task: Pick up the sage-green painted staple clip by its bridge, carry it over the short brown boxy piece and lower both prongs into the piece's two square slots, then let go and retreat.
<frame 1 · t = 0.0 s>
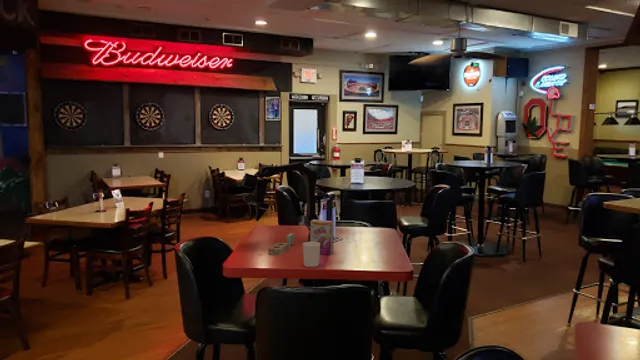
hand: (254, 219, 248), 15 cm above the table, tool pointing down, fingers open, 9 cm apart
clip: (290, 245, 257), on the table
candy bar box: (321, 253, 242), on the table
white cup: (311, 265, 220), on the table
brown boxy piece: (278, 251, 244), on the table
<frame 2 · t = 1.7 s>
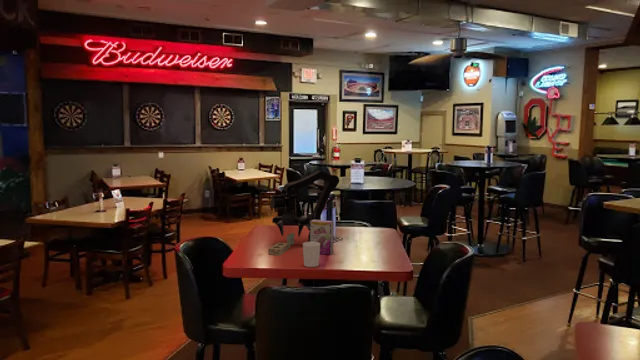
hand: (290, 236, 257), 5 cm above the table, tool pointing down, fingers open, 9 cm apart
nothing on the table moved.
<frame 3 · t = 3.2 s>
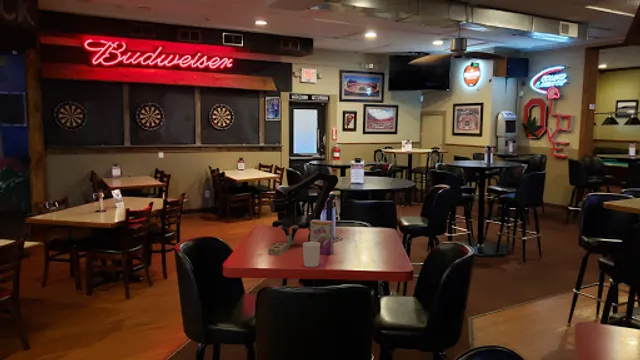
hand: (290, 240, 257), 3 cm above the table, tool pointing down, fingers closed on clip, 2 cm apart
clip: (290, 245, 257), on the table, touching gripper
everything else where it was.
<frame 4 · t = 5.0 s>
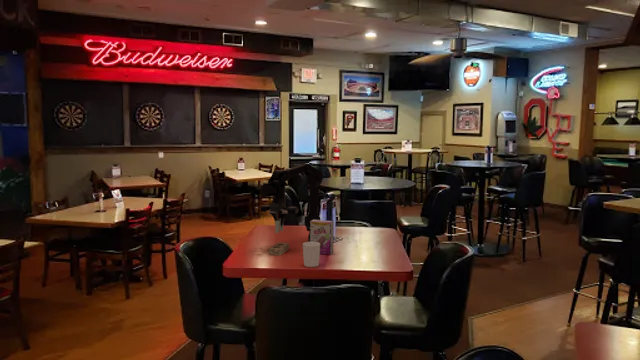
hand: (279, 226, 244), 13 cm above the table, tool pointing down, fingers closed on clip
clip: (279, 231, 244), point 10 cm above the table, touching gripper
everything else where it was.
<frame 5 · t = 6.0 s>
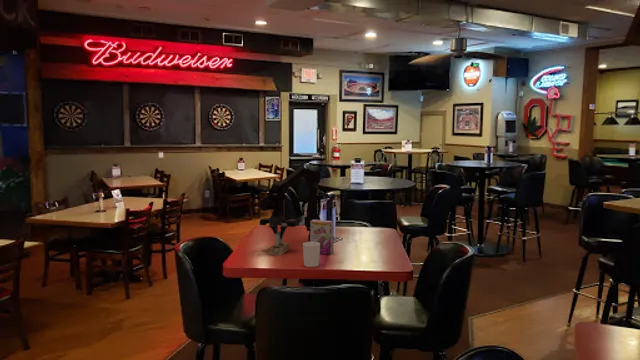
hand: (278, 239, 244), 6 cm above the table, tool pointing down, fingers closed on clip
clip: (278, 244, 244), point 4 cm above the table, touching gripper
everything else where it was.
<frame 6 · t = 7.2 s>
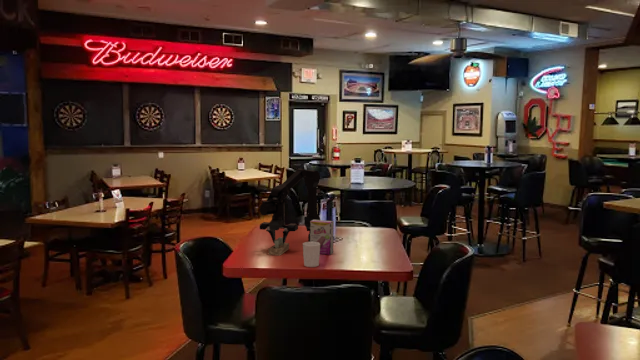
hand: (278, 243, 244), 4 cm above the table, tool pointing down, fingers open, 5 cm apart
clip: (278, 250, 244), resting on brown boxy piece
everything else where it was.
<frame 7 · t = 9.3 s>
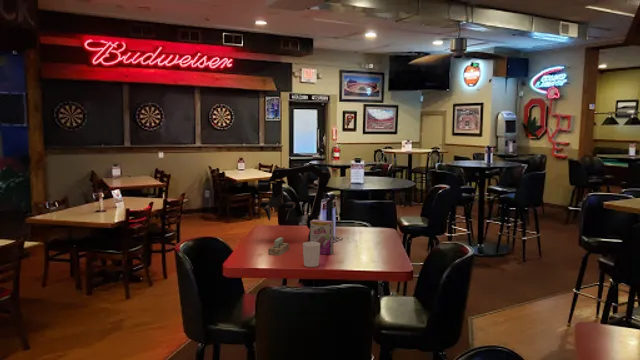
hand: (277, 220, 261), 12 cm above the table, tool pointing down, fingers open, 9 cm apart
nothing on the table moved.
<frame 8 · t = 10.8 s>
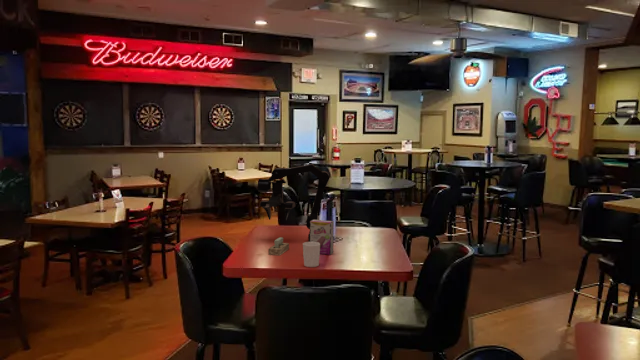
hand: (277, 219, 263), 12 cm above the table, tool pointing down, fingers open, 9 cm apart
nothing on the table moved.
at the end: clip 0.0 cm off-centre on the brown boxy piece, point 0.5 cm above the brown boxy piece's base; clip tilted 0°; the gripper is holding nothing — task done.
